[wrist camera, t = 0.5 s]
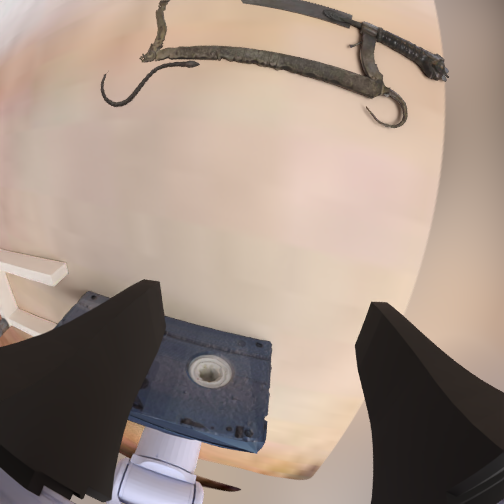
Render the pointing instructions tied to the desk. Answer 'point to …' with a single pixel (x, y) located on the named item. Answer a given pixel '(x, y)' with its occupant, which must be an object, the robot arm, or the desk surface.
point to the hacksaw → (320, 71)
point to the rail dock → (33, 269)
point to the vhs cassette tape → (202, 384)
